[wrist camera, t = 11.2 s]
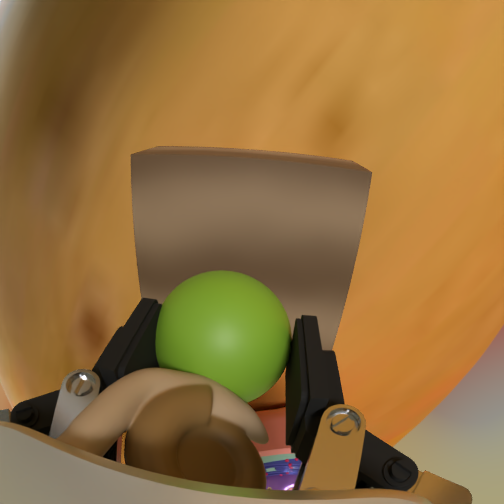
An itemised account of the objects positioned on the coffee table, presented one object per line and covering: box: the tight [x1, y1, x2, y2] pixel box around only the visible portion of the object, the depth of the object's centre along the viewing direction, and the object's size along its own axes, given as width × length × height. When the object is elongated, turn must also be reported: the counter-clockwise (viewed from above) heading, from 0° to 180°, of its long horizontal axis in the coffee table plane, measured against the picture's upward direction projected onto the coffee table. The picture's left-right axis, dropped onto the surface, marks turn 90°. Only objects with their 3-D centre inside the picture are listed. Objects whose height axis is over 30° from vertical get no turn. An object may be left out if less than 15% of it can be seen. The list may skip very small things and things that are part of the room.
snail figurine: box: [56, 270, 292, 489], centre depth 9 cm, size 5×6×12 cm
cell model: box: [251, 407, 301, 490], centre depth 24 cm, size 17×20×11 cm
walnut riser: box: [131, 146, 372, 351], centre depth 18 cm, size 12×12×4 cm
